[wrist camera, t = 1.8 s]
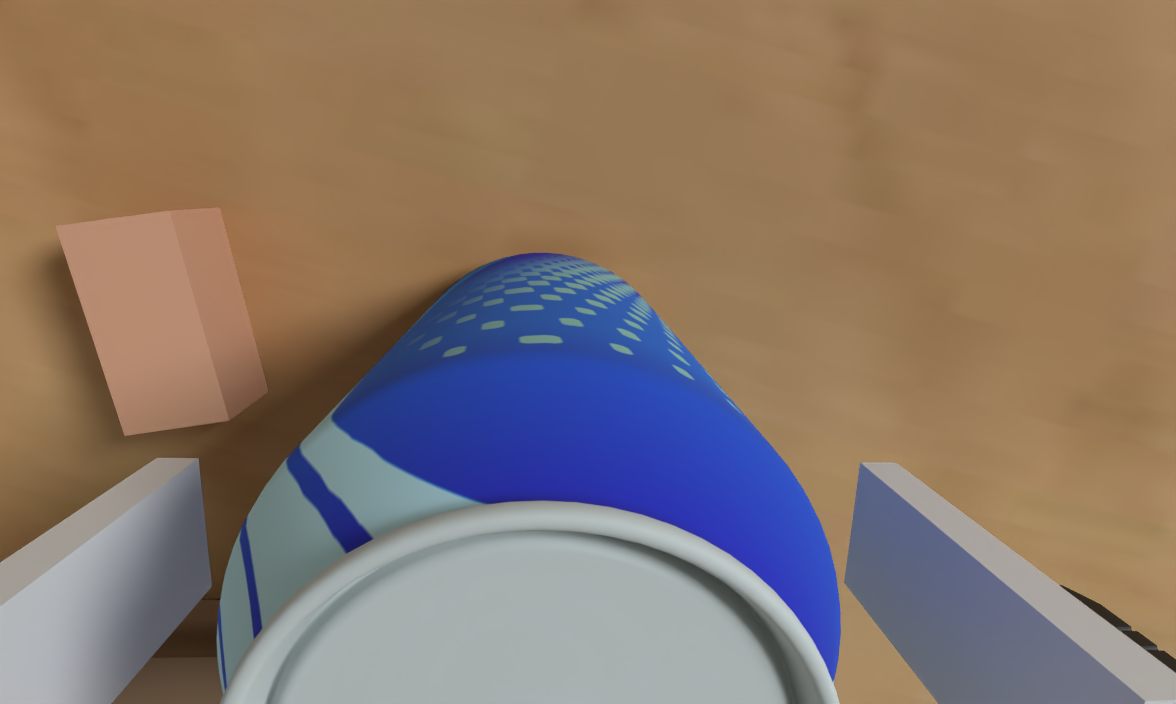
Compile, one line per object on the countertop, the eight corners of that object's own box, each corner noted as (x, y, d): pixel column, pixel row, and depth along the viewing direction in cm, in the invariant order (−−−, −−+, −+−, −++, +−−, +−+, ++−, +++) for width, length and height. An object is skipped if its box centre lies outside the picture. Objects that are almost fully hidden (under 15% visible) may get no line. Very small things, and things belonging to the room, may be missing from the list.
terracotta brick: (124, 220, 20) (55, 226, 18) (222, 207, 21) (169, 210, 18) (180, 402, 22) (124, 436, 19) (271, 389, 22) (229, 420, 19)
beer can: (372, 420, 22) (-24, 954, 7) (491, 199, 21) (331, 237, 5) (587, 527, 24) (665, 1169, 8) (713, 328, 22) (1098, 655, 7)
